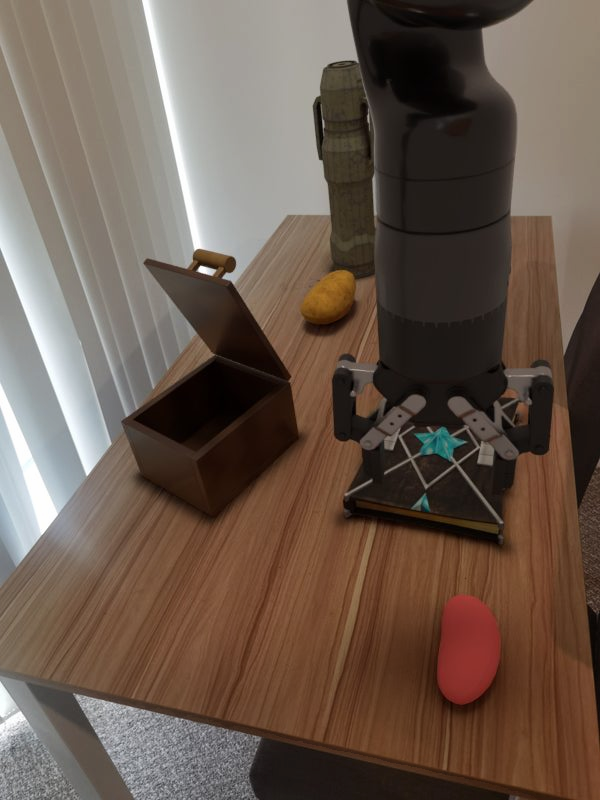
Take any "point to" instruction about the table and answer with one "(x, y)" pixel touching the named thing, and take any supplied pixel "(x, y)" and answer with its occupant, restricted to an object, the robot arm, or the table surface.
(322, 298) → the potato
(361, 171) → the tall handled vase
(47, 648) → the table surface
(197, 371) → the chest
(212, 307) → the lid
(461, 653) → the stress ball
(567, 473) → the table surface
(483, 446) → the book
